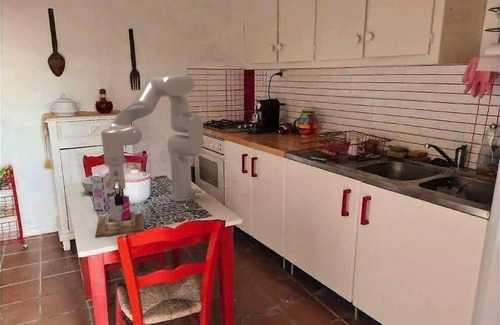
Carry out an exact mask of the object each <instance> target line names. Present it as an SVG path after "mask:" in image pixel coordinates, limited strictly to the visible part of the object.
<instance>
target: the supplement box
mask: <svg viewBox="0 0 500 325" xmlns="http://www.w3.org/2000/svg"><path fill="white" fill-rule="evenodd" d="M123 201H124V205H119V206H115V200H114V196H112V197H109V207H110V208H109V214H110V220H111V223H112V222H120V221H128V220H130V212H131V206H130V205H131V204H130V196H129V195H125V194H124V195H123Z"/></svg>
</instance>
